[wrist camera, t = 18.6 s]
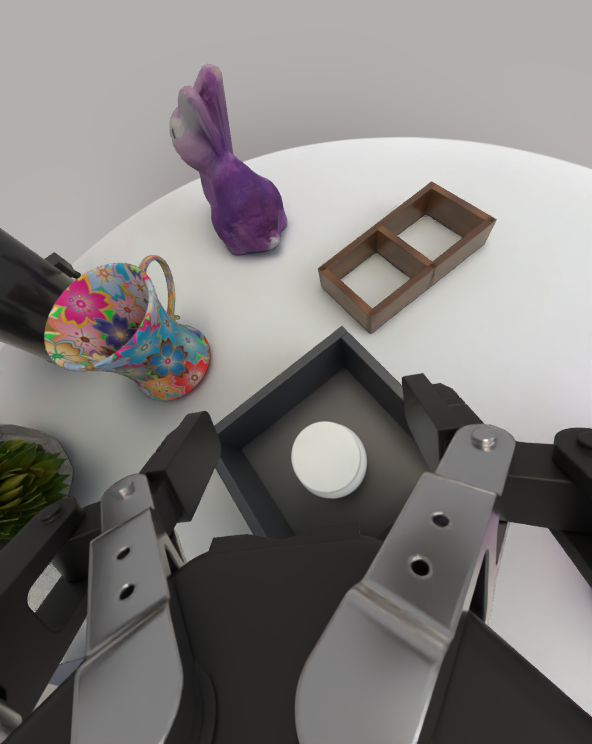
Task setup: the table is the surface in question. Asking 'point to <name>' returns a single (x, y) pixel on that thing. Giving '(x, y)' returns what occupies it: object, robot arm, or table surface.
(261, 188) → the figurine
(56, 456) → the potted plant
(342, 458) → the pill bottle
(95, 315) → the mug
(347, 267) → the rack
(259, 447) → the dark grey open box
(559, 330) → the table surface
